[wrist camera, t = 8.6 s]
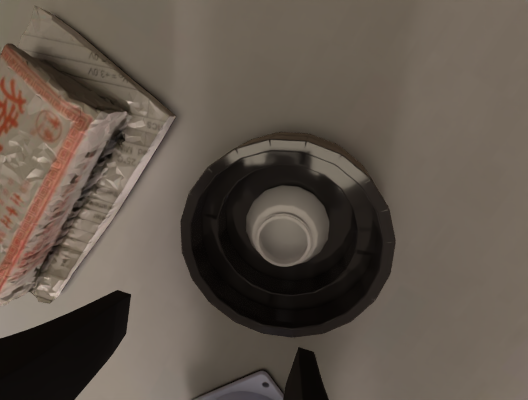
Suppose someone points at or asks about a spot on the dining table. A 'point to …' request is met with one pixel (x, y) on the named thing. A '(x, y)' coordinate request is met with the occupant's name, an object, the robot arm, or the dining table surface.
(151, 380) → the dining table surface
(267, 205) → the white jar
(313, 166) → the bowl
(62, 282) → the packaged product
